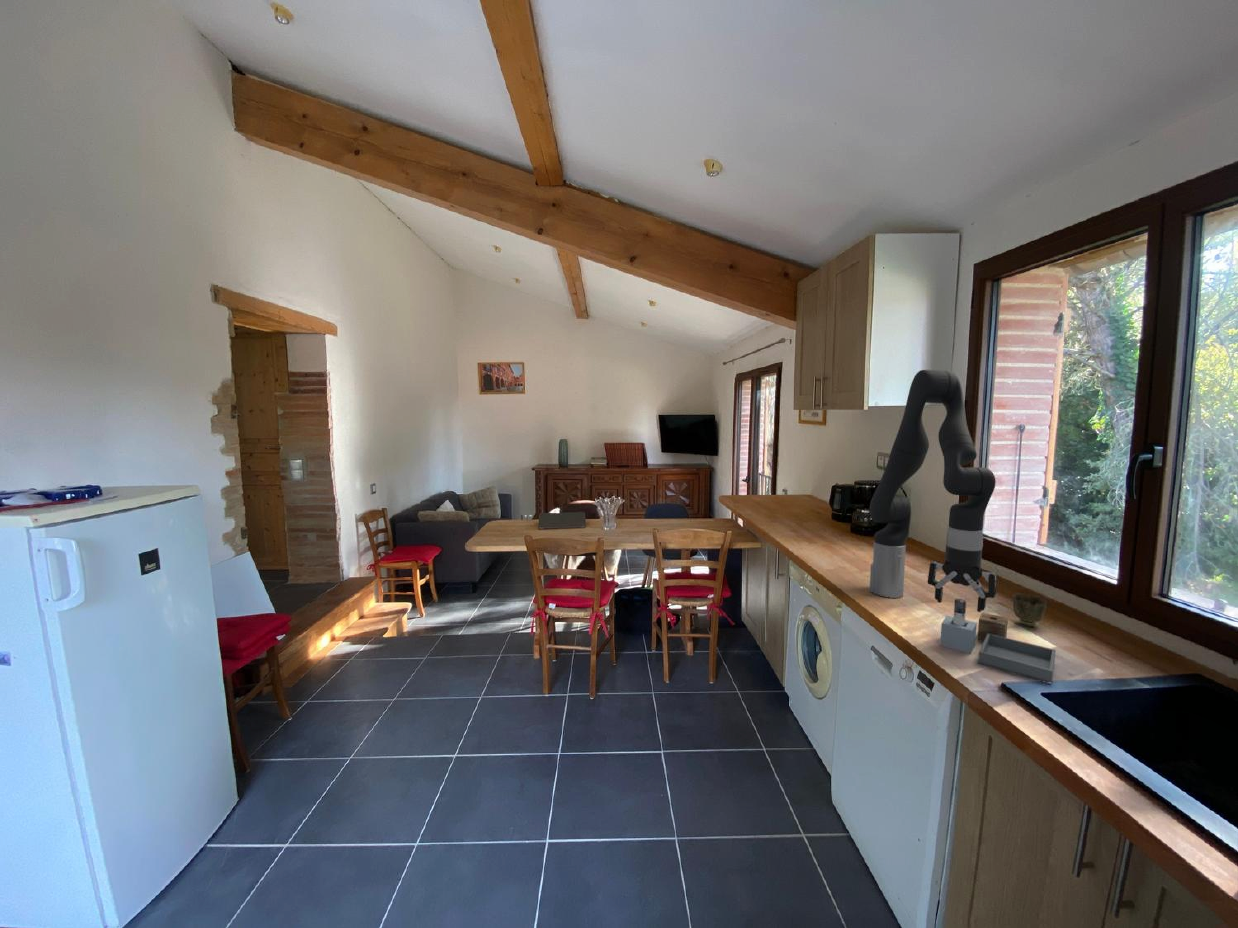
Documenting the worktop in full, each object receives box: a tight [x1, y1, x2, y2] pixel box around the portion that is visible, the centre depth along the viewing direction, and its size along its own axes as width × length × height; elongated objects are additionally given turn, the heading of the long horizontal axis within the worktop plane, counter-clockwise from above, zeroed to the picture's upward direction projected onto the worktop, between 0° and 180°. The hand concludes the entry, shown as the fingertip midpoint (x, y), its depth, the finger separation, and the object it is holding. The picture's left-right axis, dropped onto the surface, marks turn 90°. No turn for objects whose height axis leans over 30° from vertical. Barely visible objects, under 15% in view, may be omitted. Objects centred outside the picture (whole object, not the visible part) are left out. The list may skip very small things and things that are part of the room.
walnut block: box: [976, 611, 1009, 643], centre depth 129 cm, size 6×6×6 cm
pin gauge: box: [953, 598, 967, 627], centre depth 126 cm, size 2×2×12 cm
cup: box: [1012, 592, 1048, 628], centre depth 137 cm, size 8×7×8 cm
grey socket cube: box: [939, 615, 978, 655], centre depth 126 cm, size 6×6×6 cm
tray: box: [978, 633, 1057, 683], centre depth 117 cm, size 13×13×3 cm
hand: (959, 606), depth 125 cm, fingers open, 8 cm apart
